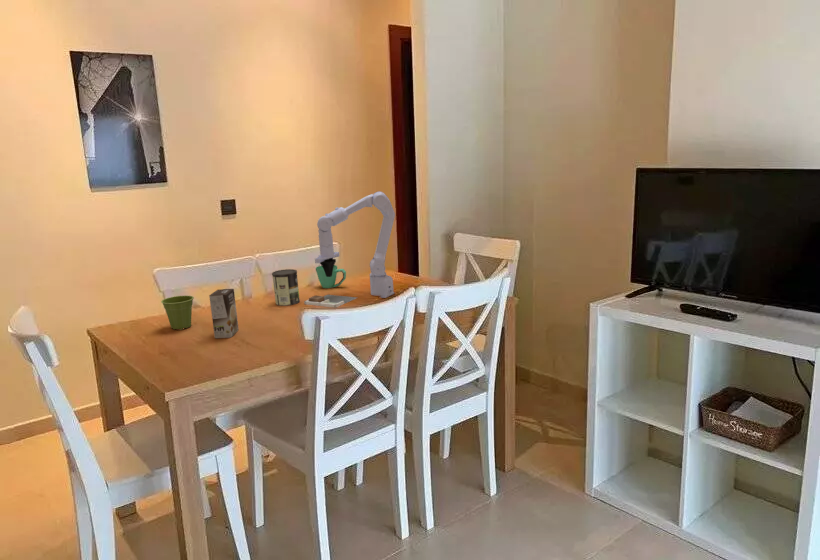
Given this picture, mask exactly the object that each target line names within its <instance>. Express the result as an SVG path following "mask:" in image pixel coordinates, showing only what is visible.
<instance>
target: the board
mask: <svg viewBox="0 0 820 560" xmlns="http://www.w3.org/2000/svg"><path fill="white" fill-rule="evenodd" d="M323 296H324V301H322V302H310V301H309V299H307V300H304V301H303V303H304V304H303V305H307V306H314V307H315V306H317V307H324V308H325V307H326V308H334V309H335V308H338V307H341V306H343V305H345V304H347V303H350V302H351V301H355V300H356V299H358V297H354V296H346V295H345V296H344V295H335V294H326V295H323Z"/></svg>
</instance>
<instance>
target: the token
mask: <svg viewBox="0 0 820 560" xmlns="http://www.w3.org/2000/svg"><path fill="white" fill-rule="evenodd" d="M324 296H325V295H323V296H322V295H314V296H310V297H308V300H309V301H310V302H322V301H324Z"/></svg>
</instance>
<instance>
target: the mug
mask: <svg viewBox="0 0 820 560" xmlns="http://www.w3.org/2000/svg"><path fill="white" fill-rule="evenodd" d="M315 272H316V274H317V278H318V281H319V283H320V286H321V288H323V289H333V288H336V287H339V286H342V284H343V282H344V281H345V280H346V279H347V270H345V269H344V268H338V265H336V264H334V267H333V272H332V276H331V277H326V274H325V271H324V269H323V267H322V265H318V266H316V267H315ZM338 273H342V278H341V280H340V281H339V282H337V283H336V281H337V274H338Z"/></svg>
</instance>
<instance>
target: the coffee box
mask: <svg viewBox="0 0 820 560" xmlns="http://www.w3.org/2000/svg"><path fill="white" fill-rule="evenodd" d="M208 296H209V302H210V303H209V304H210V311H211V318H212V319H211V320H212V326H213V334H214V335H213V336H214V339H230V338H233V336H235V335H236V333H237V332H238V331H239V321H238V312H237V306H236V305H237V304H236V297H235V289H234V288H225V289H223V288H222V289H216V290H215V291H214V292H212V293H211V294H209V295H208Z"/></svg>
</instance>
